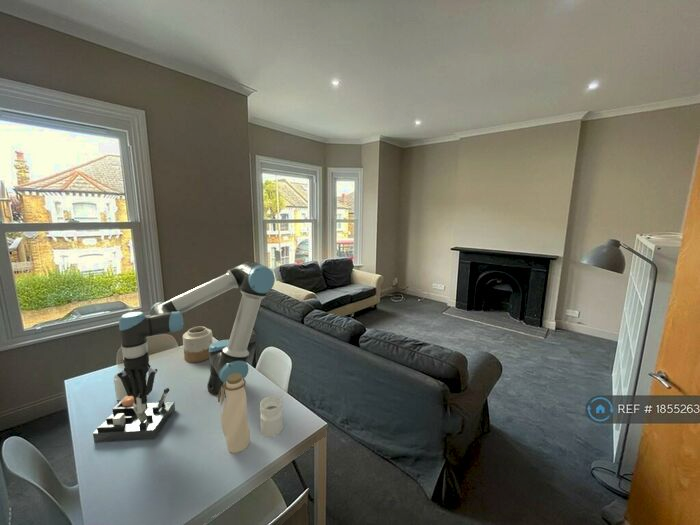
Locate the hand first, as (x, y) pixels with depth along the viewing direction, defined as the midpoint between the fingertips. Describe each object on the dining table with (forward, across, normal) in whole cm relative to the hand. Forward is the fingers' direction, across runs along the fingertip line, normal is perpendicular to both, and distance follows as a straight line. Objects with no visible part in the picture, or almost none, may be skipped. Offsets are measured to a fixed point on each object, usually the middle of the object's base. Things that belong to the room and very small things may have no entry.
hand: (141, 410), depth 109 cm
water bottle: (+10, -37, +9) cm, 39 cm away
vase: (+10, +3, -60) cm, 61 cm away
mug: (+10, +19, -25) cm, 33 cm away
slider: (+6, +9, 0) cm, 10 cm away
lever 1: (+4, 0, 0) cm, 5 cm away
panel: (+10, +5, -5) cm, 12 cm away
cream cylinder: (+10, -49, +2) cm, 50 cm away
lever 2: (+4, -2, -9) cm, 10 cm away
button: (+5, +10, -9) cm, 15 cm away
